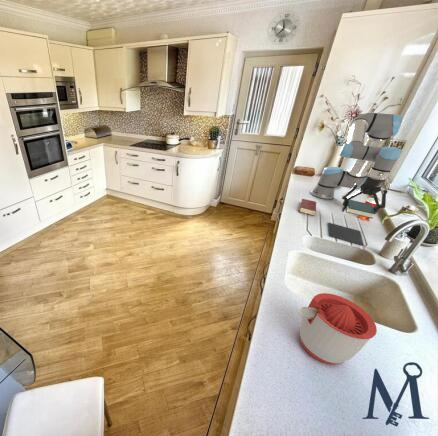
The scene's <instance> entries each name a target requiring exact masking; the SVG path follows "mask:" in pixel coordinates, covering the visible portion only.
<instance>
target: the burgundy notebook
mask: <svg viewBox="0 0 438 436" xmlns="http://www.w3.org/2000/svg"><path fill="white" fill-rule="evenodd" d="M316 211H317V201H314V200H311V199H306V198H301V201H300V202H299V208H298V213H301V214H305V215H308V216H313V217H314V215H315V213H316Z"/></svg>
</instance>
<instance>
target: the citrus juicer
mask: <svg viewBox="0 0 438 436" xmlns="http://www.w3.org/2000/svg"><path fill="white" fill-rule="evenodd" d="M299 316H300V318H302V319H301V322H300V325H299V332H298V333H299V334H298V335H299V341H300V344H301V346H302V347H303V349H304V350H305V351H306V352H307V354H309V356H311V357H312V358H313V359H315V360H316V361H318V362H320V363H323V364H326V365H339V364H342V363H344V362H347V361H349V360H351V359H352V358H354V357H355V356H356V355H357V354H358V353H359V352H360V351H361V350H362V349H363V348H364V346H365V345H366V344H367V343H368V342H369V341H370V340H371V339H372V338H374V337H376V335H377V330H378V329H377V325H376V323H375V321H374V319H373V317H371V315H369V313H367V312H366V310H364V309H363V308H362V307H361V306H359V305H358V304H356V303H355V302H353V301H351V300H349V299H348V298H345V297H343V296H341V295H337V294H334V293H328V292H322V293H321V292H320V293H317V294H316V295H314V296H313V297H312V298H311V301H310V302H309V304H308V306H302V307H301V308H300V310H299Z"/></svg>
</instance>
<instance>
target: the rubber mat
mask: <svg viewBox="0 0 438 436" xmlns="http://www.w3.org/2000/svg"><path fill="white" fill-rule="evenodd" d="M328 236H329V237H331V238H335V239H338V240H342V241H345V242H348V243H352V244H355V245H359V246H363V247H364V241H363V237H362V234H361V231H360V230H358V229H354V228H350V227H347V226H342V225H339V224H335V223H333V222H332V223H331V222H328Z"/></svg>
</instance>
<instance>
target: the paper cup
mask: <svg viewBox="0 0 438 436" xmlns="http://www.w3.org/2000/svg"><path fill="white" fill-rule="evenodd" d="M378 202H379V205H381V202H382V200H380V199H378ZM364 203H368V204H372V207H374V206H376V203H375V200H374V197H367V198H366V199H365V201H364ZM357 218H358V219H359V220H362V221H369V220H370V218H367V217H363V216H359V215H357Z"/></svg>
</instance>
